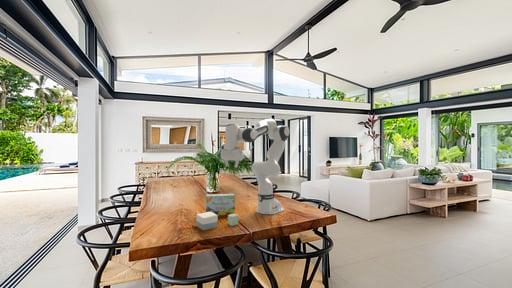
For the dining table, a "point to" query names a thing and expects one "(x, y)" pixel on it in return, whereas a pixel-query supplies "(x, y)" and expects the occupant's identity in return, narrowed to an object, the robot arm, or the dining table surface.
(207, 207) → the snack box
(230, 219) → the sage block
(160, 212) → the dining table surface
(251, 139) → the robot arm
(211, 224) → the grey slab
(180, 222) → the dining table surface
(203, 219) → the cream slab
